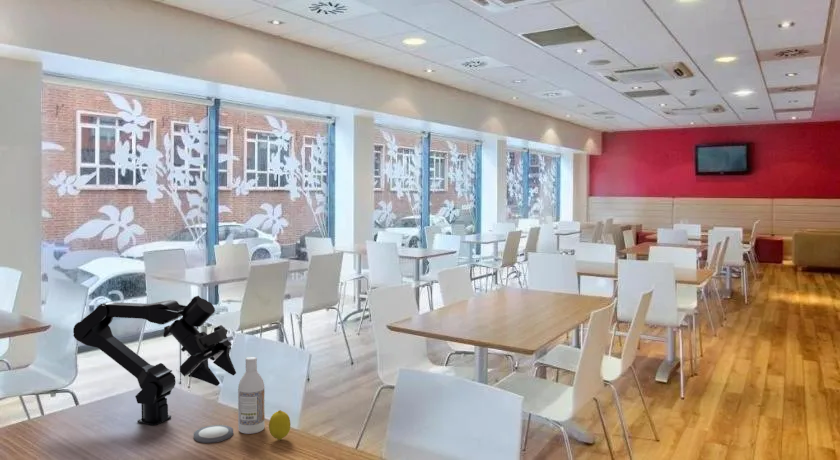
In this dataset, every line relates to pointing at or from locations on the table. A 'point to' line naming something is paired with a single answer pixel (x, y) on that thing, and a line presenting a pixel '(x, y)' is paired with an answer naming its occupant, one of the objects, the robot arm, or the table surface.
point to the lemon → (279, 425)
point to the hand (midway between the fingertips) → (226, 379)
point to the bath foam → (251, 399)
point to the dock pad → (213, 433)
